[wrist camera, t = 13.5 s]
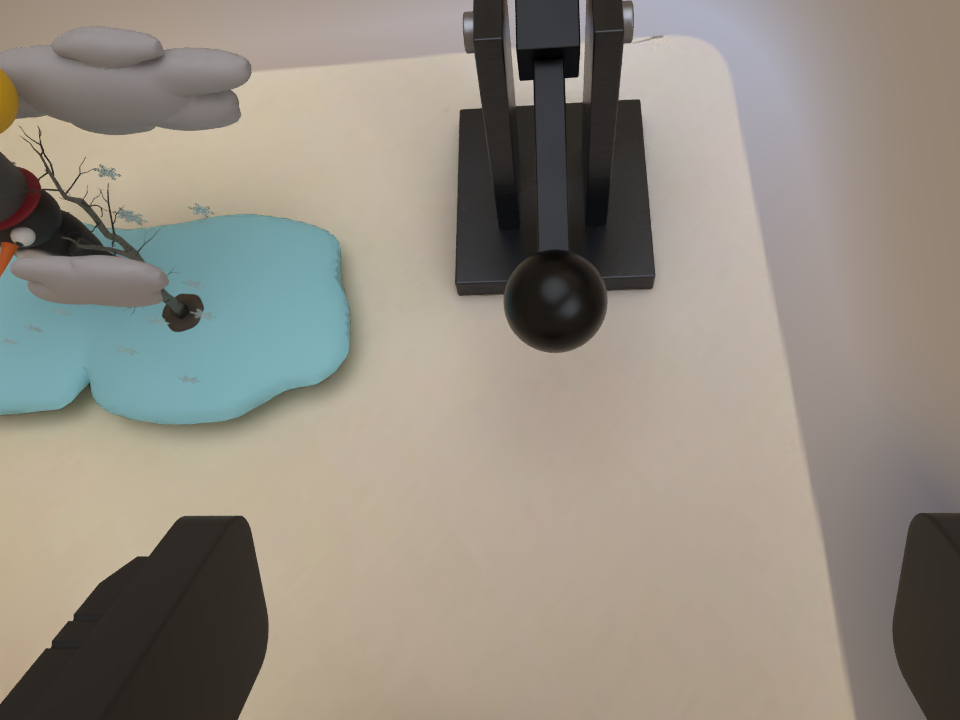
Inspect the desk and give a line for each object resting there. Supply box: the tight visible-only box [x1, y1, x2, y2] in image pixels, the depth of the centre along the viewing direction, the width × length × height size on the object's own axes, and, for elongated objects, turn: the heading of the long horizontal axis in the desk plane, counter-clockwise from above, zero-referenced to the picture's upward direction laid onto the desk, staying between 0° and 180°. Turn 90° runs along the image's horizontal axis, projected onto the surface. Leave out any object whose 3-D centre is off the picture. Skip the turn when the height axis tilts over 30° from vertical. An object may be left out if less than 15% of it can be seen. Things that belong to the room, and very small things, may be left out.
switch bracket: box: [455, 0, 655, 295], centre depth 33 cm, size 10×9×13 cm
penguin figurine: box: [0, 26, 350, 424], centre depth 31 cm, size 20×11×15 cm, turn 85°
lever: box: [504, 0, 607, 353], centre depth 28 cm, size 13×4×4 cm, turn 179°
